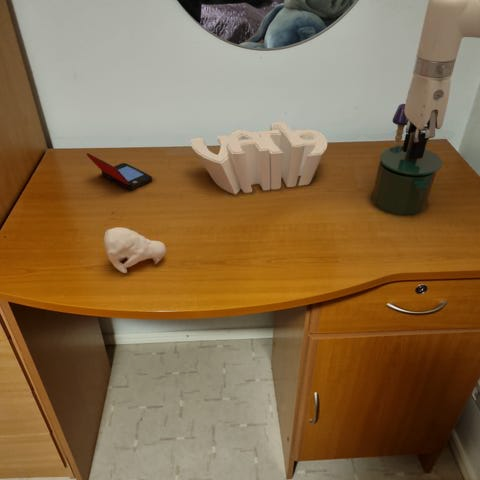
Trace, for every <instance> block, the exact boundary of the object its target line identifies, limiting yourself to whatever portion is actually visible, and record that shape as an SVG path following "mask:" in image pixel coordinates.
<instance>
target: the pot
mask: <svg viewBox="0 0 480 480" xmlns="http://www.w3.org/2000/svg"><path fill="white" fill-rule="evenodd" d="M436 174H437V172H434V173H432V174H428V175H407V174H401V173H398V172H395V171H392V170H390V169H388V168H387V167H385V166H384V165H383V164H382V163H381V161H380V160H379V164H378V168H377V173H376V177H375V182H374V186H373V191H372V195H371V200H372V203H373V205H374V206H376V208H377V209H379V210H381V211H383V212H385V213H388V214H391V215H396V216H413V215H416V214H419V213H421V212H422V211H424V210H425V209H426V206H427V203H428V200H429V197H430V194H431V190H432V188H433V184H434V181H435V177H436Z"/></svg>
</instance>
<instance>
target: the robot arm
mask: <svg viewBox="0 0 480 480" xmlns="http://www.w3.org/2000/svg"><path fill="white" fill-rule="evenodd" d="M464 38H475V39H480V0H428V2H427V6H426V9H425V15H424V20H423V24H422V29H421V32H420V38H419V41H418V48H417V50H416V51H417V52H416V56H415V60H414V65H413V69H412V77H411V81H410V84H409V88H408V92H407V95H406V98H405V99H406V100H405V103H404V104H405V110H404V113H405V115H406V117H407V125H406V126H405V127H406V128H405V136H404V140H403V144H402V146H403V148H402V151H403V152H406V151H407V146H408V142H409V138H410V134H411V132H412V131H416V133H415V138H414V141H412V143H411V147H410V152H409V156H408V158H409V159H421V158H422V157H423V155H424V151H425V149H426V148H427V147H426V146H427V143H428V142H429V140H430V139H435V137H436V130H440V129H441V128H442V127H443V124H444V120H445V117H446V112H447V108H448V102H449V97H450V92H451V91H450V90H451V81H452V79H451V78H452V77H453V72H454V70H455V69H454V68H455V65H456V62H457V57H458V54H459V50H460V46H461V43H462V39H464ZM421 132H423V133H422V134H420V133H421Z"/></svg>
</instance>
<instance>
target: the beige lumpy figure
mask: <svg viewBox="0 0 480 480" xmlns="http://www.w3.org/2000/svg"><path fill="white" fill-rule="evenodd" d="M103 245H104V247H105V249H104V250H105V251H106V255H107V258H108V260H109V261H110V262H111V264H112V265H113V267H114V268H115V269H116V270H117V271H119V272H120V273H122V274H127V273H128V269H127V268H130V267H133V266H134V265H136V264H138V263H140V262H143V261H146V260H147V259H149V260H150V259H152V260H153V261H154V264H155V265H157V264H158V263H159V262H160V261H161V260H162V259H163V258H164V257H165V255H166V254H167V247H166V245H165V244H164V242H162V241H159V240H150V239H149V238H146V237H145V236H144V235H141V234H139V233H138V232H136V231H134V230H132V229H129V228H126V227H112V228H110V229H106V230H105V233H104V237H103ZM125 259H127V261H125V262H124V263H123V262H121V261H123V260H125Z"/></svg>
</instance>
